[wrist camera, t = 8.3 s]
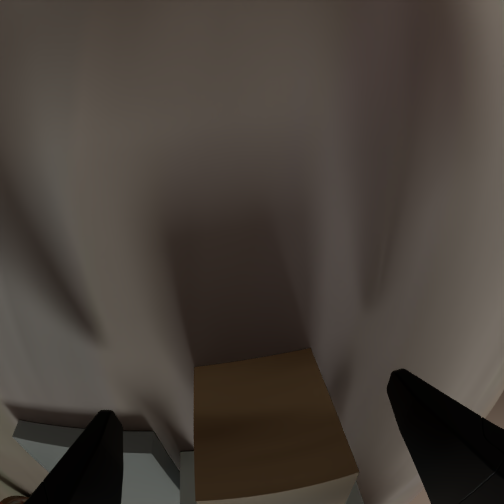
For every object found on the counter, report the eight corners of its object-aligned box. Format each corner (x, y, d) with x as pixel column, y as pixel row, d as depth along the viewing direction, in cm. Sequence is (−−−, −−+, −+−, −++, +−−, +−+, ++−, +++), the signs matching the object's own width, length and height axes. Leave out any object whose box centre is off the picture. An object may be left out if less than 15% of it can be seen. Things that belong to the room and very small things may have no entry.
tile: (194, 492, 15) (194, 508, 14) (84, 485, 14) (81, 498, 13) (153, 431, 11) (151, 453, 10) (18, 420, 11) (12, 436, 10)
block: (309, 411, 12) (341, 511, 7) (216, 427, 12) (226, 532, 7) (310, 346, 10) (359, 472, 6) (194, 366, 10) (195, 501, 6)
